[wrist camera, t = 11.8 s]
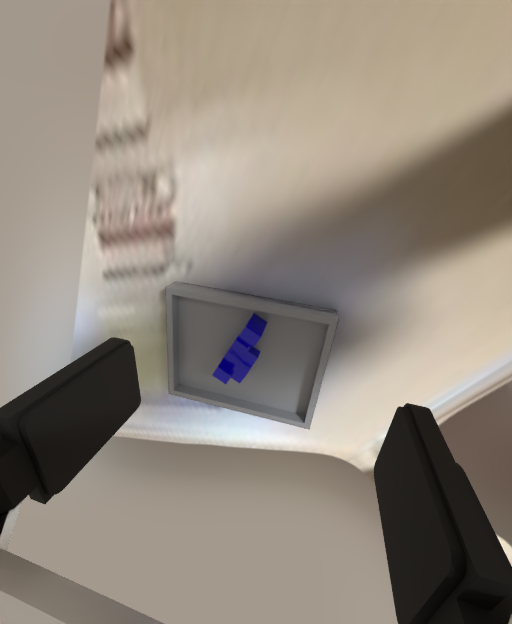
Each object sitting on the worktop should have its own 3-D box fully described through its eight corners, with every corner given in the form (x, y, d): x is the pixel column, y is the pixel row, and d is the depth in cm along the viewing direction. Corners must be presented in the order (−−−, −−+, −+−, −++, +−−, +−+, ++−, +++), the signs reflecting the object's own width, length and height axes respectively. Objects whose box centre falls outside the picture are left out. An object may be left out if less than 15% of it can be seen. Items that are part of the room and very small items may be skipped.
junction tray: (336, 310, 30) (338, 319, 27) (309, 415, 36) (309, 429, 34) (176, 281, 33) (165, 287, 30) (177, 382, 39) (168, 393, 37)
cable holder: (244, 372, 34) (236, 391, 31) (222, 357, 34) (211, 375, 31) (277, 329, 31) (272, 345, 27) (253, 312, 31) (245, 326, 27)
